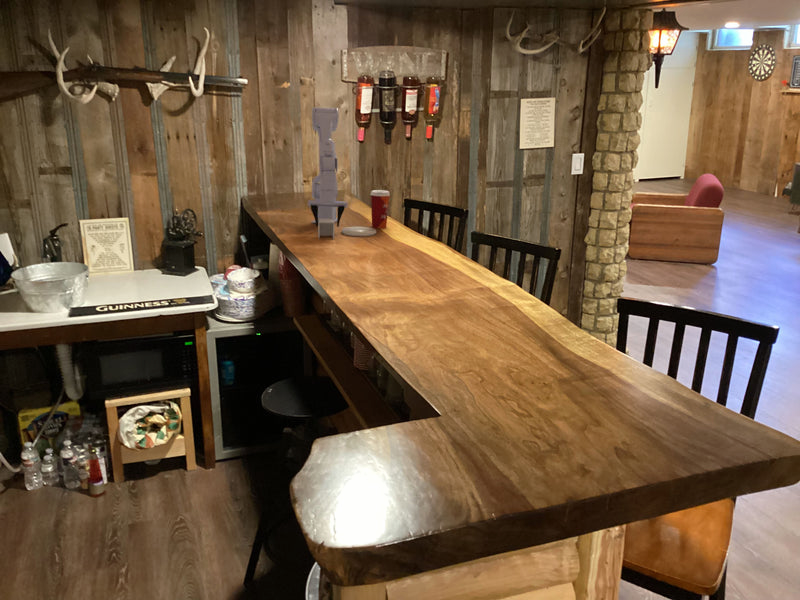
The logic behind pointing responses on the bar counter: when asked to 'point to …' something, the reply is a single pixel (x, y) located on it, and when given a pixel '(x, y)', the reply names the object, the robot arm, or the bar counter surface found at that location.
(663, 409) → the bar counter surface
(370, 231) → the ceramic dish
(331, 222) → the grey open box
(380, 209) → the paper cup
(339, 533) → the bar counter surface
